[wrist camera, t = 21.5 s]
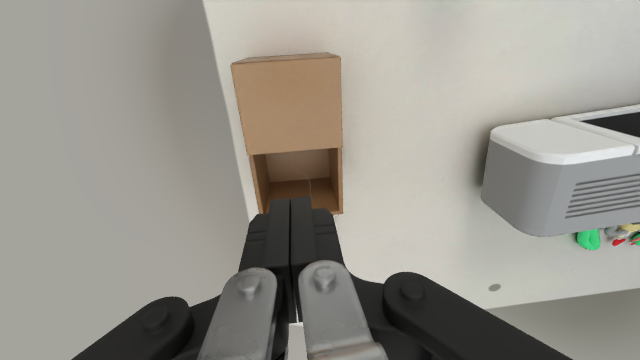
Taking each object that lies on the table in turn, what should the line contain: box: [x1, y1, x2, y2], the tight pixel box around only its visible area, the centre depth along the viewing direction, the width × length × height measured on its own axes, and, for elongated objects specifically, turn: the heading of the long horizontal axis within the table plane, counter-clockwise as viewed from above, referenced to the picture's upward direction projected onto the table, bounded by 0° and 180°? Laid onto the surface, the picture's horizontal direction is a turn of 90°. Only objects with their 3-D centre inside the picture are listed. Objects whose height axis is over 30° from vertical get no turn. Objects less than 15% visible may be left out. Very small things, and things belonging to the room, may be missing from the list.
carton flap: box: [231, 57, 342, 155], centre depth 23 cm, size 7×8×1 cm
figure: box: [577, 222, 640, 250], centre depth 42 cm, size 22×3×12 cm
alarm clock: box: [481, 105, 640, 237], centre depth 31 cm, size 27×9×12 cm, turn 97°
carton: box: [232, 53, 343, 215], centre depth 29 cm, size 15×8×8 cm, turn 3°
